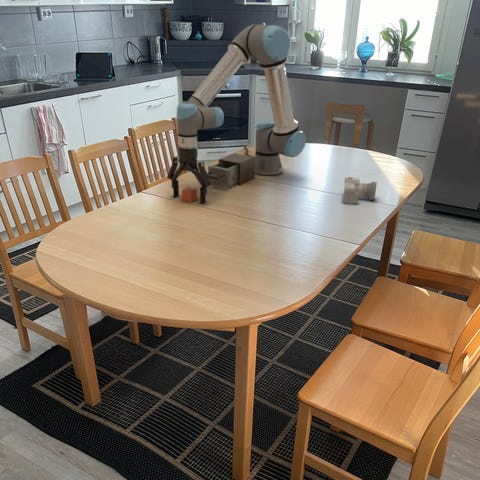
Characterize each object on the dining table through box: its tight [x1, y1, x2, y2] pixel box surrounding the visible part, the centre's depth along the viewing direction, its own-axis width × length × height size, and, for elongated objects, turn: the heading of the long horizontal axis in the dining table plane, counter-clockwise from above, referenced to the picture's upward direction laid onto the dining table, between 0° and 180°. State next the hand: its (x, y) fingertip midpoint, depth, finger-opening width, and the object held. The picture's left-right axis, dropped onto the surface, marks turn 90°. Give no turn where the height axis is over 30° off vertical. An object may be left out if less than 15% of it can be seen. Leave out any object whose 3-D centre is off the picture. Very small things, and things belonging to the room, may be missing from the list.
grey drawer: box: [207, 161, 239, 189], centre depth 218 cm, size 19×10×8 cm, turn 149°
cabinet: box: [218, 152, 255, 186], centre depth 227 cm, size 13×11×10 cm
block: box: [181, 186, 198, 203], centre depth 204 cm, size 4×4×4 cm
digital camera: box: [342, 176, 378, 205], centre depth 208 cm, size 17×14×10 cm
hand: (189, 199), depth 205 cm, fingers open, 13 cm apart
